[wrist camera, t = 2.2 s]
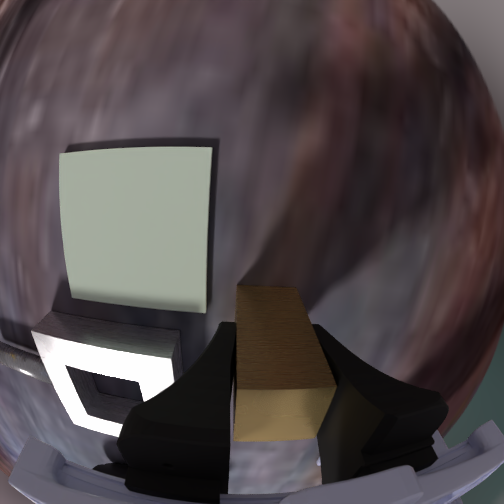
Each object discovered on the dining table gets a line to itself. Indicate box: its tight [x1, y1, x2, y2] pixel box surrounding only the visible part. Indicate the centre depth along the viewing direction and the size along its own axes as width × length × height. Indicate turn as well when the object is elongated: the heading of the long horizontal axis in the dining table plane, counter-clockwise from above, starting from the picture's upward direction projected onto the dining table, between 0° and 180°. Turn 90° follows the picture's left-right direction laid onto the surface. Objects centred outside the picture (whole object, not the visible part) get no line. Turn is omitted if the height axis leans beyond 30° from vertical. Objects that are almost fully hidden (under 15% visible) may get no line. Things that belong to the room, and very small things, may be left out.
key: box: [233, 285, 337, 441], centre depth 11 cm, size 3×3×7 cm
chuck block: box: [0, 311, 183, 437], centre depth 14 cm, size 17×9×2 cm, turn 85°
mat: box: [59, 147, 213, 313], centre depth 12 cm, size 8×8×1 cm
